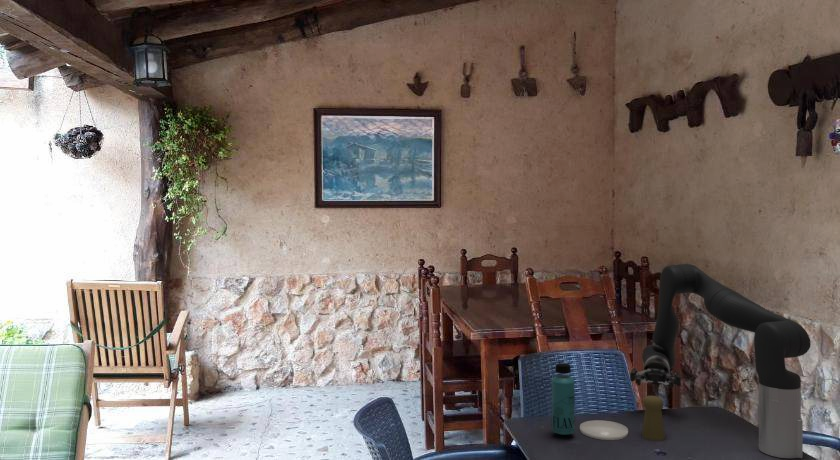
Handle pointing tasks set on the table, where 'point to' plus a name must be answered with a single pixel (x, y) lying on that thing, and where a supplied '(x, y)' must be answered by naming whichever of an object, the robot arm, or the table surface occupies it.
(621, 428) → the saucer
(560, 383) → the beverage bottle
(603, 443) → the table surface
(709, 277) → the robot arm
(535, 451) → the table surface
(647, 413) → the cork
